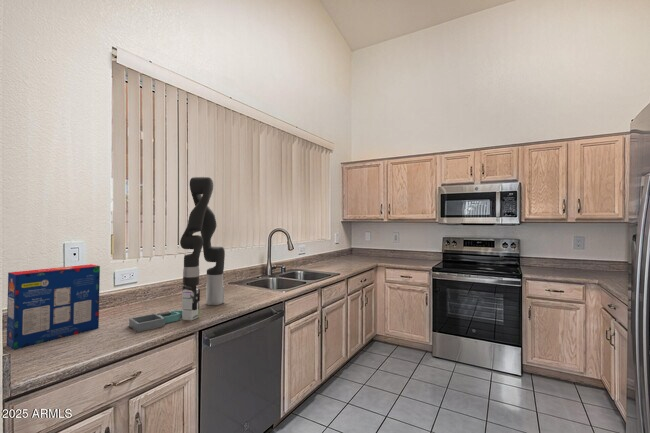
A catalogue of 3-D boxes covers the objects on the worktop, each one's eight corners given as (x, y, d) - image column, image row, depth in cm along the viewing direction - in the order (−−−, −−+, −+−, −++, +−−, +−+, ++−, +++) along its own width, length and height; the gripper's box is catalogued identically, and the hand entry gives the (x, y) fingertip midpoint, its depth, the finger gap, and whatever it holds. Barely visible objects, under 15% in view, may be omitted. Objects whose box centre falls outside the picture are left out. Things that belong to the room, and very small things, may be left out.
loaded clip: (188, 313, 168) (188, 307, 168) (188, 315, 163) (188, 310, 163) (171, 314, 165) (171, 309, 165) (170, 317, 160) (170, 311, 160)
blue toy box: (89, 325, 147) (91, 264, 147) (98, 328, 143) (99, 265, 143) (6, 345, 123) (8, 272, 123) (14, 350, 119) (15, 274, 119)
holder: (154, 320, 155) (155, 313, 155) (164, 326, 148) (164, 318, 148) (129, 326, 147) (129, 318, 147) (137, 332, 139) (137, 323, 140)
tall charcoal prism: (168, 316, 163) (168, 311, 163) (170, 317, 161) (170, 312, 161) (156, 318, 159) (156, 313, 159) (159, 320, 157) (159, 314, 157)
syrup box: (192, 320, 156) (192, 290, 156) (181, 319, 157) (182, 289, 157) (199, 317, 162) (199, 288, 162) (188, 316, 163) (189, 287, 163)
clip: (175, 317, 160) (175, 311, 160) (179, 320, 157) (180, 313, 157) (158, 321, 154) (158, 315, 154) (162, 323, 151) (162, 317, 151)
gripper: (205, 276, 158) (204, 309, 157) (191, 272, 167) (191, 304, 167) (190, 278, 152) (189, 312, 152) (177, 274, 162) (176, 307, 161)
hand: (190, 308), depth 159 cm, fingers closed on syrup box, 7 cm apart
